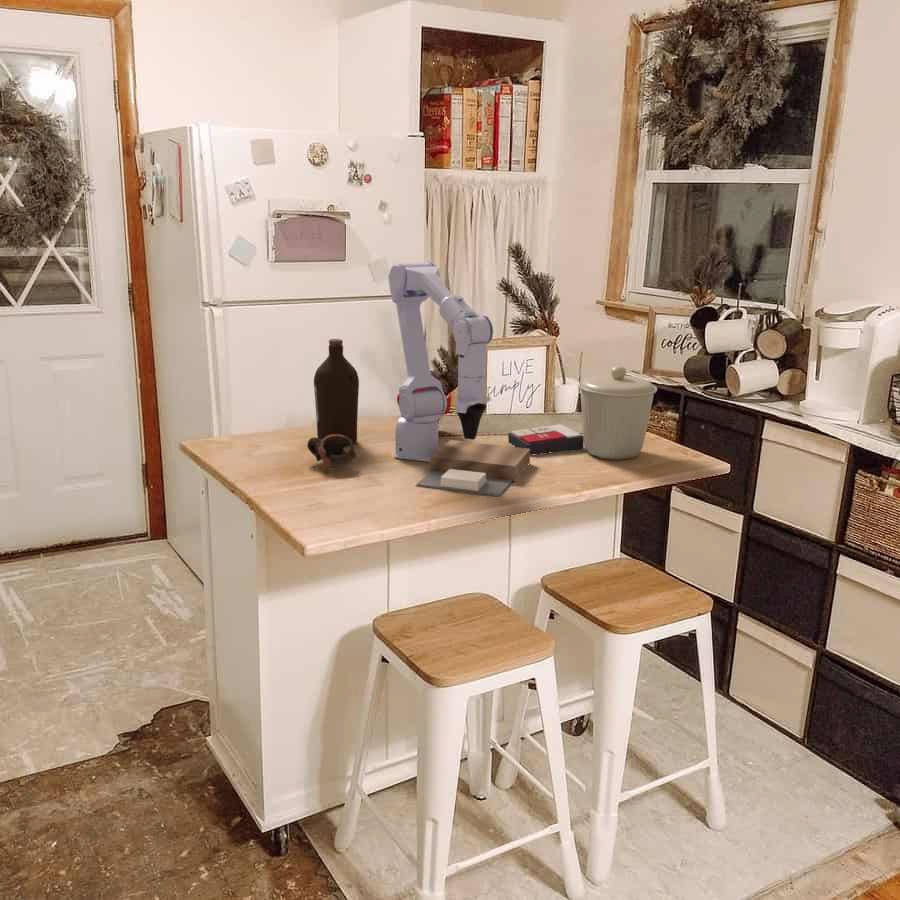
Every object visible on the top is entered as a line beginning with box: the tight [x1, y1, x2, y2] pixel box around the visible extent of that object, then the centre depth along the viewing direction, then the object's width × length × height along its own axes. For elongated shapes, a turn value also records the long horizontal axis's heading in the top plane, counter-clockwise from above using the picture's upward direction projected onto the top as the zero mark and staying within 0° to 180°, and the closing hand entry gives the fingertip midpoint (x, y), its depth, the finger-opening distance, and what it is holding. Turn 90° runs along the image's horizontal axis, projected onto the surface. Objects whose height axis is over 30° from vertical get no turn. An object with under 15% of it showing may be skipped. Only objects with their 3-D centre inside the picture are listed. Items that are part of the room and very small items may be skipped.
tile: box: [441, 469, 486, 491], centre depth 187 cm, size 8×6×2 cm
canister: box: [577, 365, 658, 461], centre depth 209 cm, size 18×18×21 cm
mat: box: [415, 471, 512, 497], centre depth 189 cm, size 18×10×1 cm, turn 72°
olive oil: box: [313, 338, 360, 448], centre depth 213 cm, size 11×11×25 cm
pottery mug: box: [307, 434, 358, 473], centre depth 198 cm, size 12×9×8 cm
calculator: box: [507, 424, 584, 455], centre depth 217 cm, size 11×4×15 cm
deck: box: [429, 439, 531, 482], centre depth 199 cm, size 19×14×4 cm
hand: (470, 438), depth 189 cm, fingers closed
